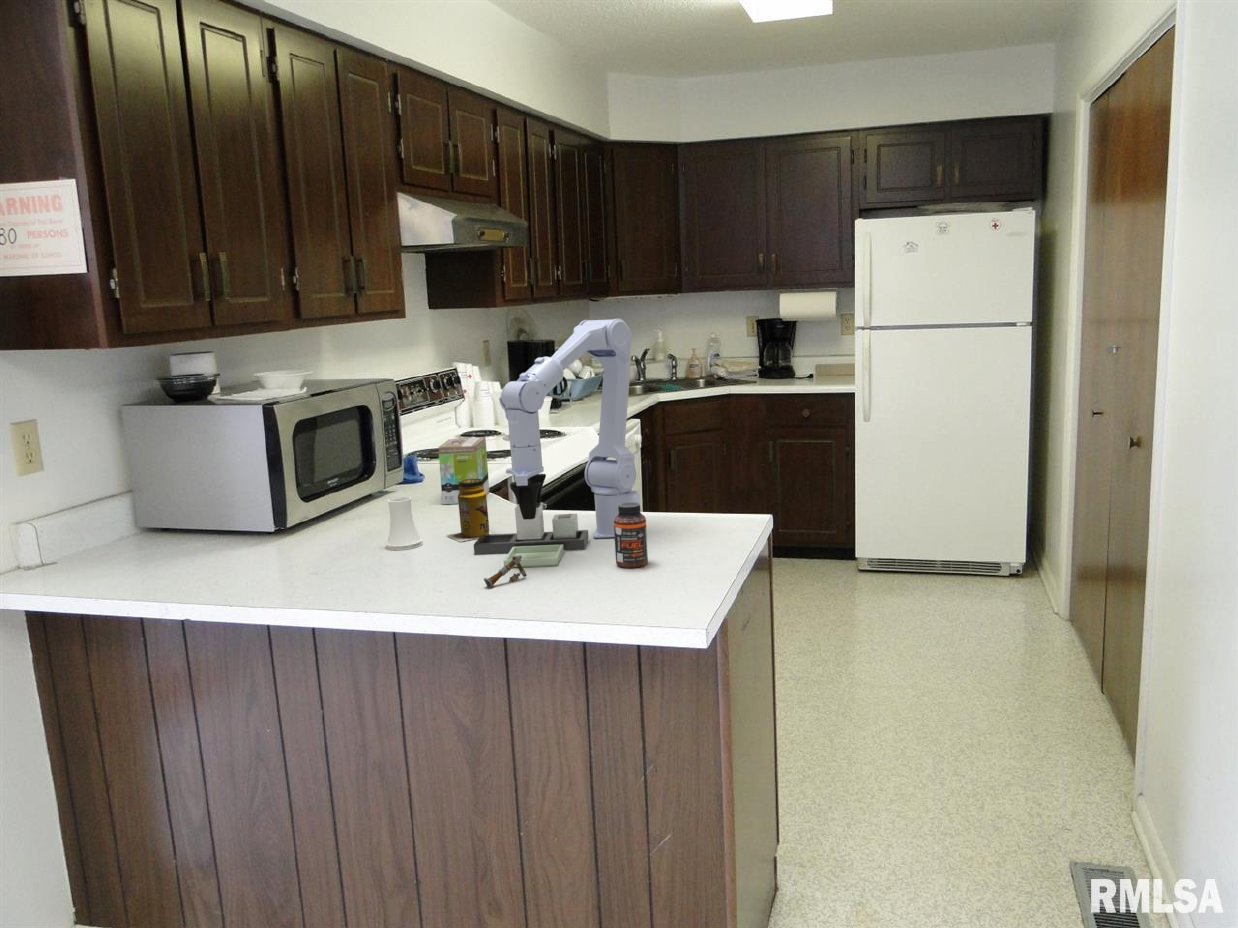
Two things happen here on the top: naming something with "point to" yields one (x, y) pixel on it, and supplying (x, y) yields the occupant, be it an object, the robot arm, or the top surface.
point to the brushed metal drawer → (565, 526)
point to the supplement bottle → (630, 536)
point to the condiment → (472, 510)
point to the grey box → (530, 524)
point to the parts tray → (536, 555)
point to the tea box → (462, 465)
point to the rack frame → (525, 542)
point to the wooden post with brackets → (504, 570)
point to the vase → (402, 525)
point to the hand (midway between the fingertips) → (531, 515)
